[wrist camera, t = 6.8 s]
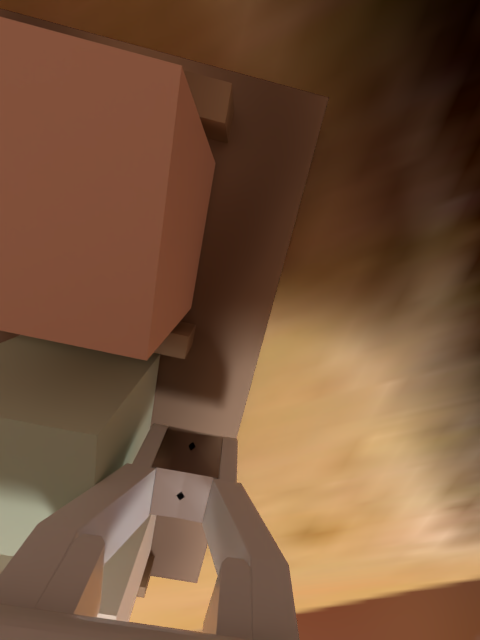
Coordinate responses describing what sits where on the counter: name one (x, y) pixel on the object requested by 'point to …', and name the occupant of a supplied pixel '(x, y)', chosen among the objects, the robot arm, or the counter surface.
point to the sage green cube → (64, 426)
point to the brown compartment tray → (225, 262)
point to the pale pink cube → (121, 573)
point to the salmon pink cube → (97, 192)
